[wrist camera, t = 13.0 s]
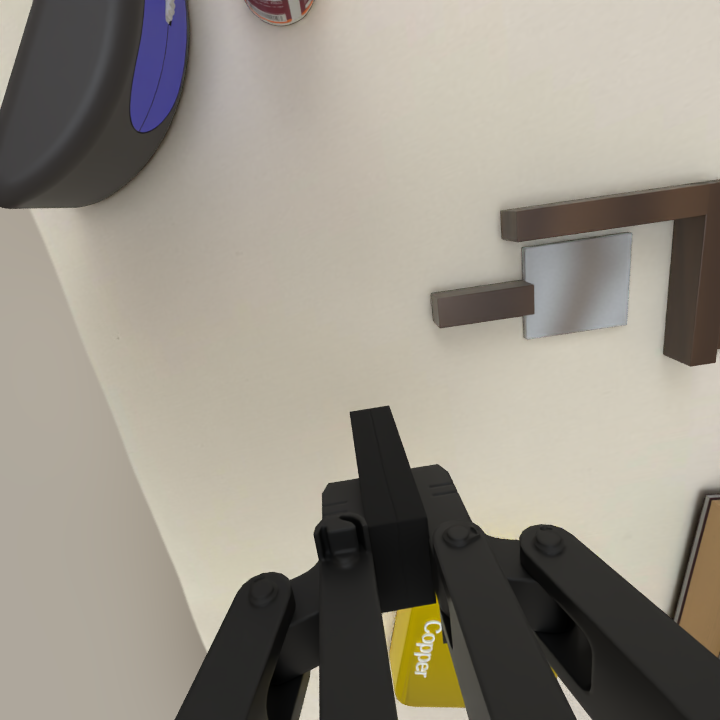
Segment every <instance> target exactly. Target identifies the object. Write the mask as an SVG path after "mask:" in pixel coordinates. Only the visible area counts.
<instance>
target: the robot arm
mask: <svg viewBox="0 0 720 720" xmlns="http://www.w3.org/2000/svg"><path fill="white" fill-rule="evenodd" d="M350 418H351V425H352V432H353V439H354V446H355V453H356V460H357V467H358V474H359V478H358V479H352V480H346V481H340V482H334V483H328V485H327V487H326V488H325V490H324V492H323V493H322V520H321V521H320V522H319V524H318V525H317V526H316V527H315V531H314V539H315V544H316V549H317V553H318V558H319V561H318V562H317V563H316V565H315V566H314V567H313V568H311V569H310V570H309V571H308V572H306V573H304V574H302V575H300V576H298V577H296V578H294V579H291V580H289V579H288V578H287V577H286V576H284V575H283V574H281V573H276V572H268V573H262V574H260V575H257V576H255V577H253V578H251V579H250V580H248V581H247V582H246V583H245V584H243V585H242V587H241V588H240V590H239V591H238V592H237V594H236V596H235V598H234V600H233V602H232V604H231V606H230V608H229V610H228V612H227V614H226V616H225V618H224V620H223V623H222V625H221V627H220V629H219V631H218V633H217V635H216V637H215V639H214V641H213V643H212V645H211V647H210V649H209V651H208V653H207V655H206V657H205V659H204V661H203V663H202V665H201V667H200V669H199V672H198V674H197V675H196V678H195V680H194V682H193V684H192V686H191V688H190V690H189V692H188V694H187V696H186V698H185V700H184V702H183V704H182V706H181V708H180V710H179V712H178V714H177V716H176V718H175V720H299V717H300V713H301V709H302V705H303V702H304V698H305V694H306V690H307V686H308V682H309V678H310V670H312V669H313V668H315V667H317V666H319V707H320V720H398V717H397V710H396V704H395V697H394V691H393V684H392V678H391V671H390V665H389V658H388V652H387V645H386V639H385V632H384V626H383V620H382V613H384V612H390V611H396V610H401V609H407V608H413V607H419V606H424V605H430V604H436V596H437V599H438V603H439V608H440V618H441V627H442V637H443V644H445V643H447V644H448V648H449V651H450V655H451V658H452V662H453V665H454V669H455V672H456V676H457V679H458V683H459V686H460V690H461V693H462V697H463V700H464V704H465V707H466V711H467V714H468V718H469V720H577V719H576V717H575V715H574V713H573V711H572V709H571V707H570V705H569V703H568V701H567V699H566V697H565V695H564V693H563V691H562V689H561V687H560V685H559V683H558V681H557V679H556V677H555V675H554V673H553V671H552V669H553V670H554V671H555V673H556V674H557V675H558V677H559V678H560V679H561V680H562V682H563V683H564V684H565V686H566V687H567V688H568V689H569V691H570V692H571V693H572V694H573V696H574V697H575V698H576V700H577V701H578V702H579V703H580V705H581V706H582V707H583V708H584V710H585V711H586V712H587V714H588V715H589V716H590V717H591V719H592V720H720V659H719V658H717V657H716V656H715V655H714V654H713V653H711V652H710V651H709V650H708V649H707V648H706V647H704V646H703V645H702V644H701V643H700V642H698V641H697V640H696V639H695V638H694V637H693V636H691V635H690V634H689V633H688V632H687V631H685V630H684V629H683V628H682V627H681V626H680V625H678V624H677V623H676V622H675V621H674V620H672V619H671V618H670V617H669V616H668V615H667V614H665V613H664V612H663V611H662V610H661V609H659V608H658V607H657V606H656V605H655V604H654V603H652V602H651V601H650V600H649V599H648V598H646V597H645V596H644V595H643V594H642V593H641V592H639V591H638V590H637V589H636V588H635V587H633V586H632V585H631V584H630V583H629V582H628V581H626V580H625V579H624V578H623V577H622V576H620V575H619V574H618V573H617V572H616V571H615V570H613V569H612V568H611V567H610V566H609V565H607V564H606V563H605V562H604V561H603V560H602V559H600V558H599V557H598V556H597V555H596V554H594V553H593V552H592V551H591V550H590V549H589V548H587V547H586V546H585V545H584V544H583V543H581V542H580V541H579V540H578V539H577V538H576V537H574V536H573V535H572V534H571V533H569V532H567V531H566V530H564V529H562V528H559V527H556V526H553V525H542V524H540V525H535V526H530V527H529V528H527V529H525V530H524V531H523V532H522V534H521V535H520V537H519V540H508V539H499V538H494V537H491V536H488V535H486V534H485V533H484V532H483V530H482V529H481V528H480V527H479V526H478V525H476V524H474V523H472V521H471V519H470V517H469V515H468V512H467V510H466V508H465V506H464V504H463V502H462V500H461V498H460V496H459V494H458V492H457V489H456V487H455V485H454V484H453V481H452V479H451V477H450V475H449V473H448V471H446V470H445V469H443V468H442V467H441V466H439V465H438V464H436V465H430V466H423V467H417V468H410V465H409V462H408V459H407V456H406V453H405V450H404V448H403V445H402V442H401V439H400V436H399V433H398V430H397V427H396V424H395V421H394V418H393V415H392V412H391V410H390V407H389V406H383V407H377V408H371V409H365V410H358V411H352V412H350ZM550 666H551V667H550ZM551 668H552V669H551Z"/></svg>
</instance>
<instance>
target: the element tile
mask: <svg viewBox="0 0 720 720" xmlns="http://www.w3.org/2000/svg"><path fill="white" fill-rule="evenodd" d="M390 663H391V670H392V677H393V684H394V691H395V695H396V697H397V700H398V701H400V702H401V703H402V704H404V705H408V706H413V707H454V708H466V707H465V704H464V700H463V697H462V693H461V690H460V686H459V683H458V679H457V676H456V672H455V669H454V665H453V662H452V658H451V655H450V651H449V648H448V644H447V643H445V644H443V637H442V627H441V618H440V608H439V603H438V599H437V596H436V604H430V605H424V606H419V607H413V608H407V609H401V610H397V616H396V621H395V626H394V631H393V637H392V642H391V647H390ZM550 667H551V666H550ZM551 669H552V668H551ZM552 671H553V673H554V675H555V677H556V679H557V676H558V675H557V674H556V673H555V671H554V670H553V669H552Z"/></svg>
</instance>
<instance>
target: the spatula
mask: <svg viewBox="0 0 720 720" xmlns="http://www.w3.org/2000/svg"><path fill="white" fill-rule="evenodd" d="M631 246H632V233H629V232H626V233H619V234H612V235H605V236H598V237H591V238H584V239H577V240H570V241H563V242H557V243H550V244H543V245H536V246H529V247H523V248H522V269H523V280H518V281H511V282H504V283H497V284H490V285H484V286H477V287H470V288H463V289H456V290H449V291H442V292H435V293H431V301H432V313H433V321H434V322H435V323H436V325H437V326H438V327H439V328H445V327H452V326H459V325H466V324H473V323H479V322H486V321H493V320H500V319H507V318H513V317H520V316H523V323H524V338H525V339H534V338H541V337H548V336H554V335H561V334H568V333H575V332H581V331H588V330H595V329H602V328H608V327H615V326H622V325H627V317H628V299H629V281H630V264H631Z"/></svg>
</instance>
